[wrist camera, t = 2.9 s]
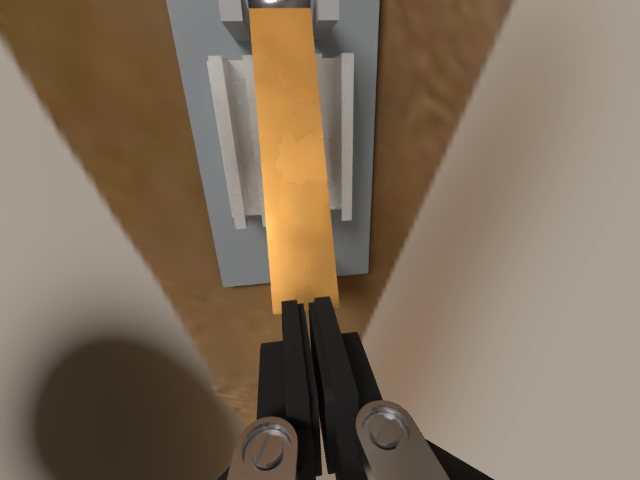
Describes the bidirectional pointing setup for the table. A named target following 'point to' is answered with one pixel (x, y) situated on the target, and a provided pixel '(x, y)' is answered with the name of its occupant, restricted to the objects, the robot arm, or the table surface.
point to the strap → (292, 153)
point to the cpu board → (192, 51)
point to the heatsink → (243, 136)
